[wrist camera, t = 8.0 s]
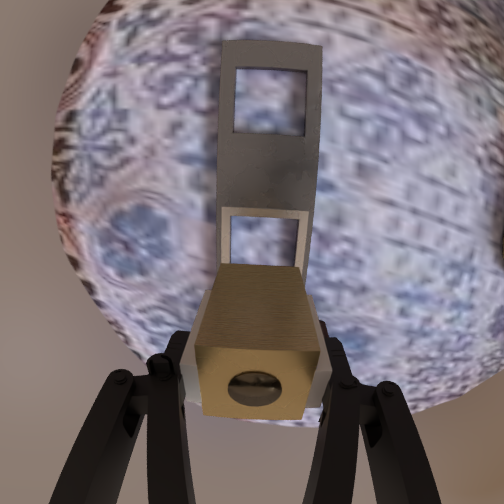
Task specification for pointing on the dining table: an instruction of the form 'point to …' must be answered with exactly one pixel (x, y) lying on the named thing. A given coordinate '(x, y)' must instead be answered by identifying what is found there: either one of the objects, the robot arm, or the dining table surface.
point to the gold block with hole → (256, 344)
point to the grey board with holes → (268, 148)
